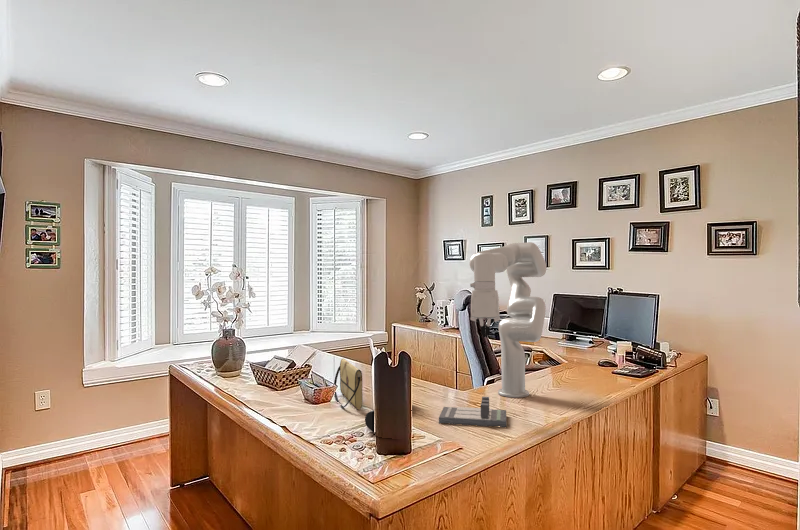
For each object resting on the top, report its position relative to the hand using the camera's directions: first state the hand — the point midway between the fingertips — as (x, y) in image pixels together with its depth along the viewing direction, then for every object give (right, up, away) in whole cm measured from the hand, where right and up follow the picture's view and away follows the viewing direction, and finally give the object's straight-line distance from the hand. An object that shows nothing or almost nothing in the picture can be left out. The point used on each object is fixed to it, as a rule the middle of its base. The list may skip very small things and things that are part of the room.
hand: (485, 336), depth 169 cm
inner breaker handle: (-1, -24, -7) cm, 25 cm away
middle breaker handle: (-2, -24, -11) cm, 27 cm away
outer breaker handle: (-3, -24, -15) cm, 29 cm away
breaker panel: (-6, -27, -10) cm, 29 cm away
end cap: (-37, -27, -19) cm, 49 cm away
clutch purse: (-53, -28, +14) cm, 61 cm away
